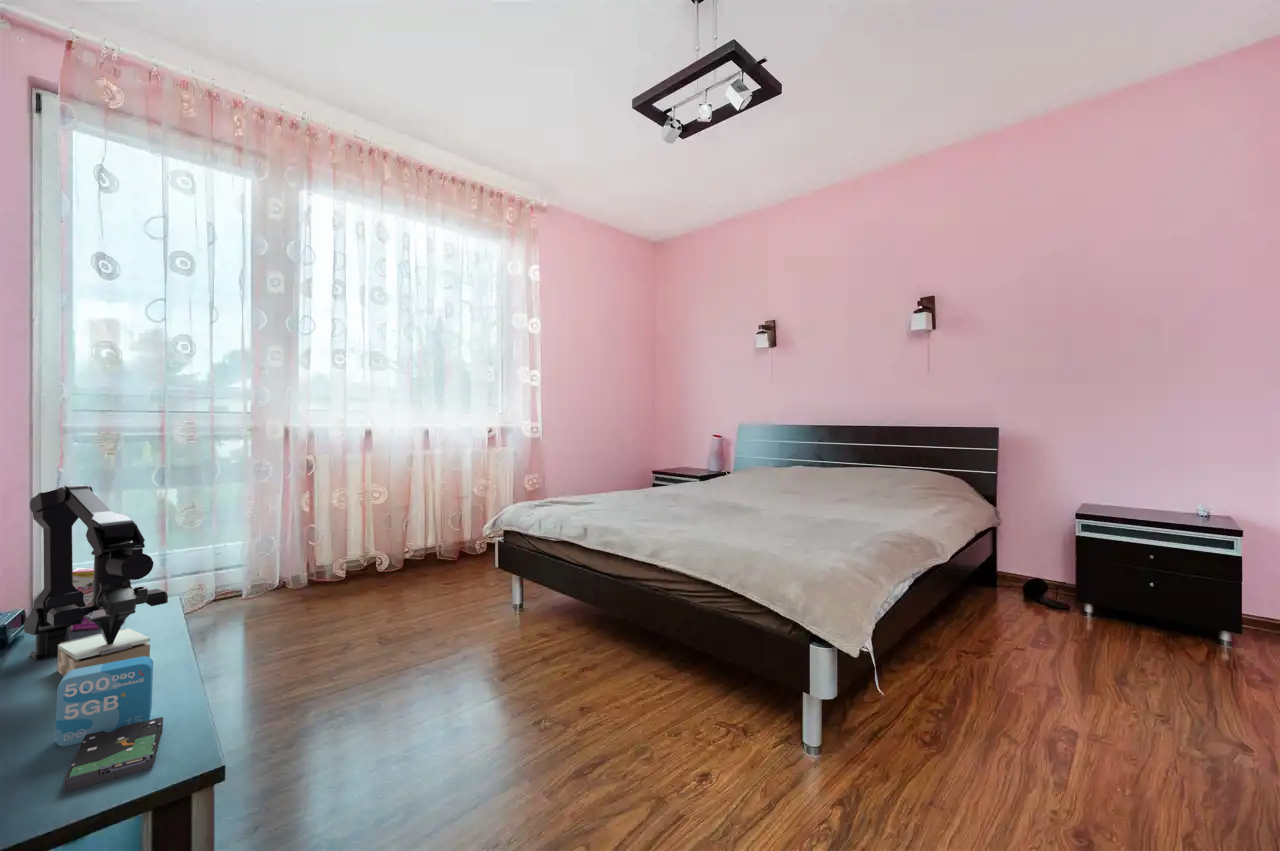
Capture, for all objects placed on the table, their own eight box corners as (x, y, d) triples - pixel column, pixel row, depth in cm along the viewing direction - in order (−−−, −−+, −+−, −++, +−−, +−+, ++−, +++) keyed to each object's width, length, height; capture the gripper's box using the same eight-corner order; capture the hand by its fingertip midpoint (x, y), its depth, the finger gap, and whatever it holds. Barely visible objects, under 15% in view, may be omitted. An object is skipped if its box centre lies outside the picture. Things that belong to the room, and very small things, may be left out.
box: (57, 670, 119) (57, 648, 119) (128, 652, 130) (128, 632, 130) (75, 687, 112) (76, 663, 112) (149, 666, 123) (150, 644, 123)
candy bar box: (63, 633, 141) (65, 572, 141) (73, 627, 145) (75, 567, 146) (118, 627, 146) (120, 568, 146) (126, 621, 150) (128, 564, 150)
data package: (54, 750, 91) (57, 680, 91) (60, 738, 94) (62, 670, 94) (149, 726, 98) (151, 661, 98) (151, 716, 102) (153, 653, 102)
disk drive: (83, 751, 91) (62, 796, 80) (83, 734, 92) (63, 778, 80) (163, 730, 98) (155, 770, 86) (163, 715, 98) (155, 753, 86)
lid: (56, 647, 120) (56, 643, 120) (127, 631, 130) (127, 627, 130) (78, 660, 112) (78, 656, 112) (152, 642, 122) (152, 637, 122)
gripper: (62, 590, 108) (60, 667, 107) (177, 571, 124) (176, 637, 123) (47, 582, 113) (45, 655, 113) (159, 565, 129) (157, 628, 129)
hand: (109, 643), depth 119 cm, fingers closed, pressing on lid
